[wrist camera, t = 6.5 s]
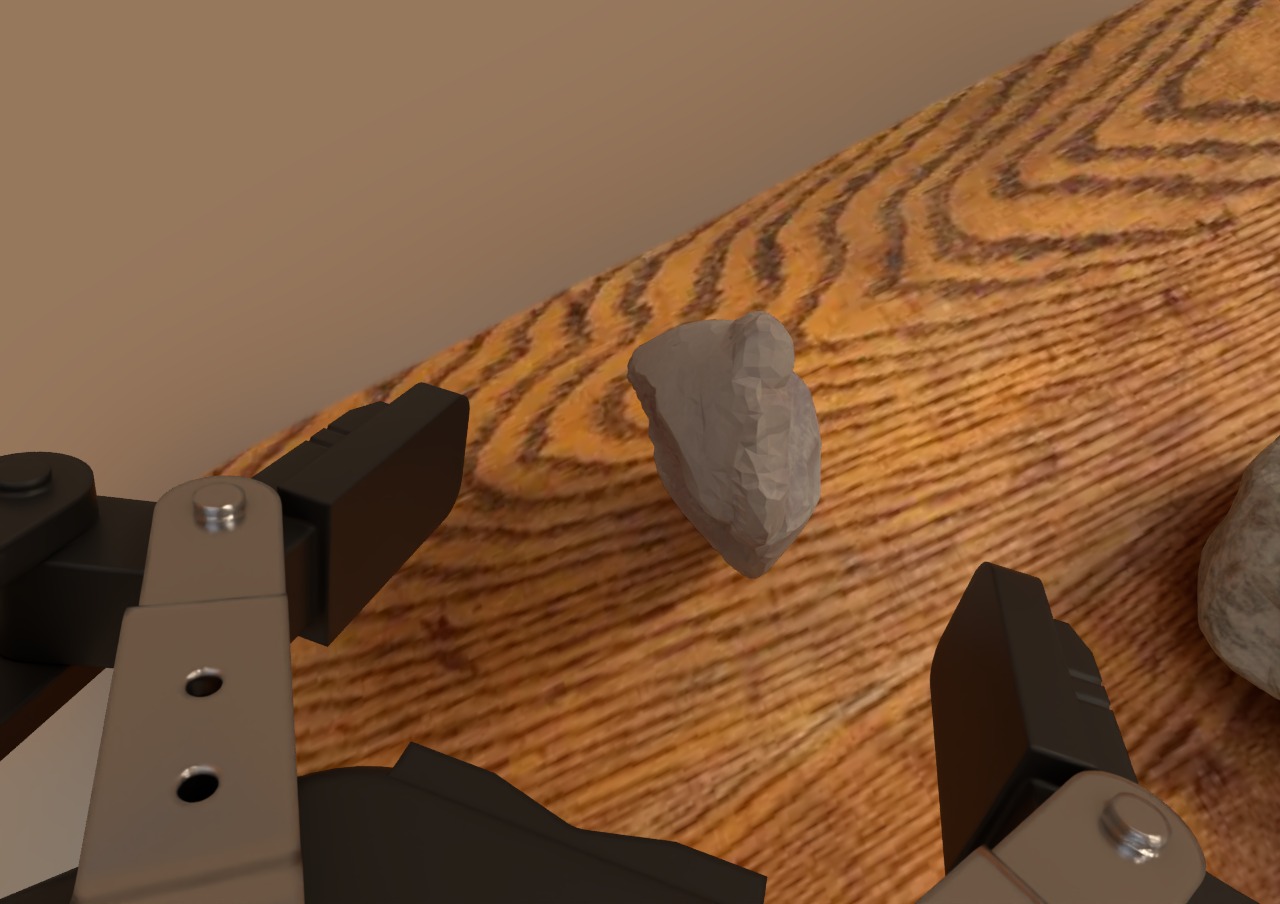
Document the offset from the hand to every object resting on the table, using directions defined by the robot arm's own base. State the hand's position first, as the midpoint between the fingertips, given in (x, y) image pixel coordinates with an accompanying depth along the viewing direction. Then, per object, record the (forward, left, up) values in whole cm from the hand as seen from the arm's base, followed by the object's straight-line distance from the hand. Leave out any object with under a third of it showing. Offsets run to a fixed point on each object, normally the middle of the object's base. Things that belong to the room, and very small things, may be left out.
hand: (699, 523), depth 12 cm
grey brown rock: (-1, +3, -10) cm, 11 cm away
